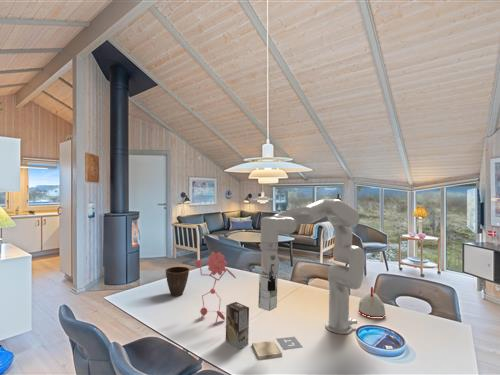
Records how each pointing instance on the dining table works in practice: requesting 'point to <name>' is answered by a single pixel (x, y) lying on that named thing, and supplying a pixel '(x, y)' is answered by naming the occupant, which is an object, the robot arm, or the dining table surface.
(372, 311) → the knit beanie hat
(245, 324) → the coffee box
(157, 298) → the dining table surface
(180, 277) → the plant pot
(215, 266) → the figurine
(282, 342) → the plaque
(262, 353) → the tray
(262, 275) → the syrup box
